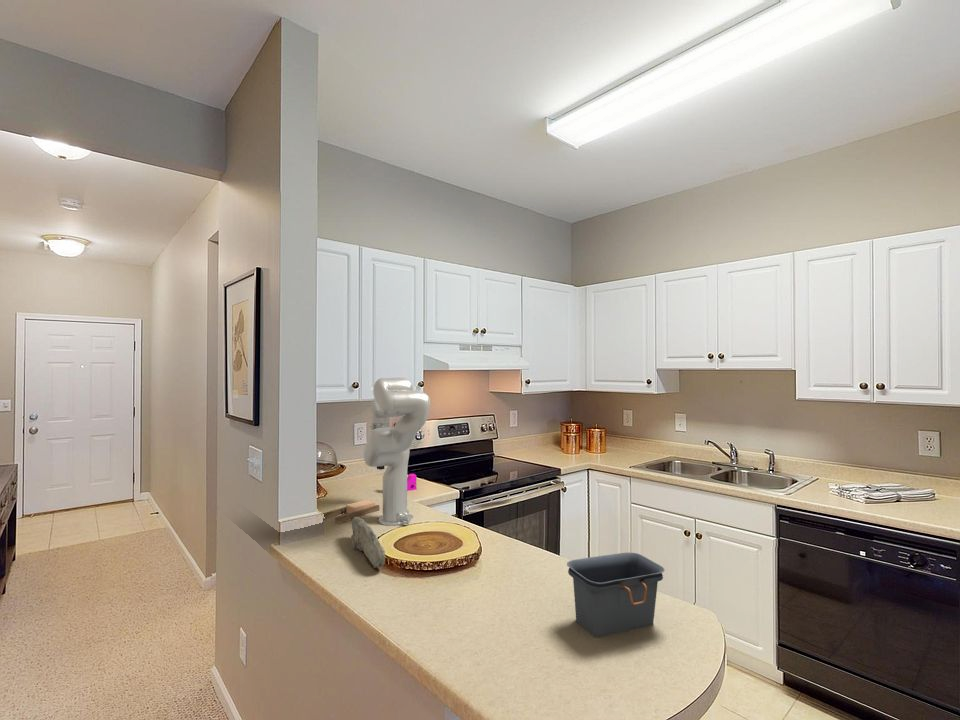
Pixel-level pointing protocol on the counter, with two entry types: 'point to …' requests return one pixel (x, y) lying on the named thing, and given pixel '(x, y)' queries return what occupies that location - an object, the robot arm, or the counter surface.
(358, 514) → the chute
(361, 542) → the elongated rock
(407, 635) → the counter surface
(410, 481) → the toy block
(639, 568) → the storage bin
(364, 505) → the block
